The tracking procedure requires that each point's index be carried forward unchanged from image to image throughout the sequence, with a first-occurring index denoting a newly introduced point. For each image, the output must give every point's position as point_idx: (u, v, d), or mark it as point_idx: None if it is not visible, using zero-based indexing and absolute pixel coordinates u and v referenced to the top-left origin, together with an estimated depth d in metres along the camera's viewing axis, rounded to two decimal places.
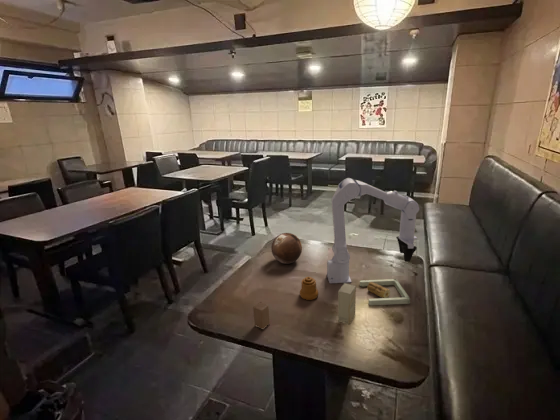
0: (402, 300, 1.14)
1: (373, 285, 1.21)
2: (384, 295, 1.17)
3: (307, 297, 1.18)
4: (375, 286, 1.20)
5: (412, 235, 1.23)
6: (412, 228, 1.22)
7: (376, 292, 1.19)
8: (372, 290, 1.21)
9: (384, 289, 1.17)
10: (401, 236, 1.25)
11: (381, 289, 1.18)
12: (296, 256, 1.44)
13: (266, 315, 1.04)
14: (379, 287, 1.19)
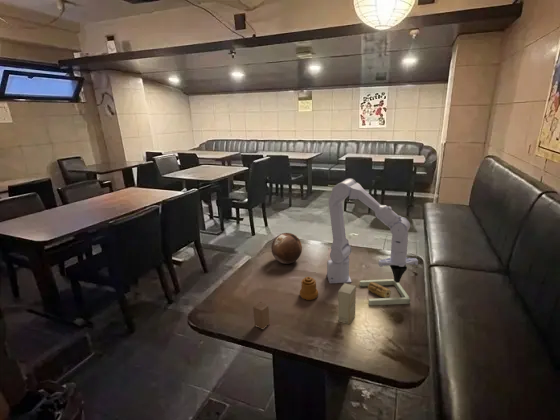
0: (402, 300, 1.14)
1: (374, 285, 1.21)
2: (385, 295, 1.17)
3: (307, 297, 1.18)
4: (376, 286, 1.20)
5: (394, 258, 1.14)
6: (400, 252, 1.12)
7: (377, 292, 1.19)
8: (373, 290, 1.21)
9: (385, 289, 1.17)
10: None
11: (381, 289, 1.18)
12: (296, 256, 1.44)
13: (266, 315, 1.04)
14: (380, 287, 1.19)
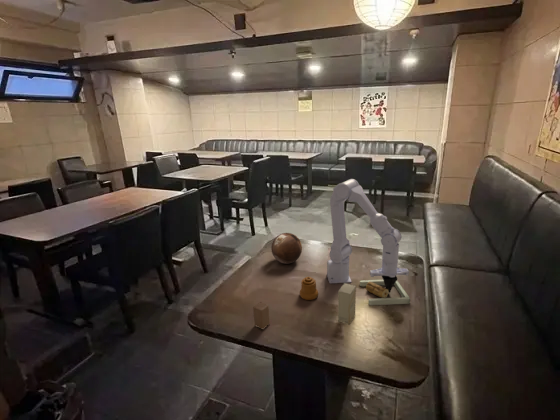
0: (402, 300, 1.14)
1: (372, 285, 1.21)
2: (382, 295, 1.16)
3: (307, 297, 1.18)
4: (374, 286, 1.20)
5: (384, 269, 1.16)
6: (390, 262, 1.14)
7: (375, 292, 1.19)
8: (371, 290, 1.20)
9: (382, 289, 1.17)
10: None
11: (379, 289, 1.18)
12: (296, 256, 1.44)
13: (266, 315, 1.04)
14: (378, 287, 1.19)
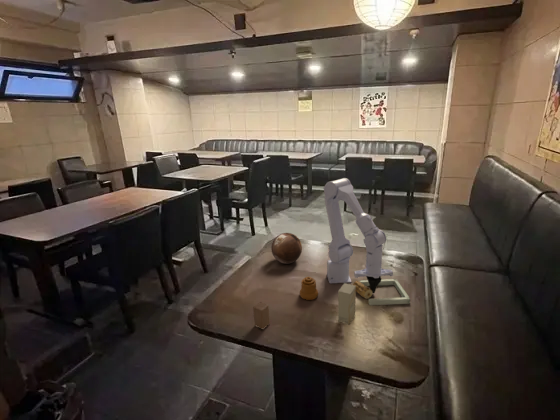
0: (402, 300, 1.14)
1: (357, 284, 1.22)
2: (365, 295, 1.17)
3: (307, 297, 1.18)
4: (359, 285, 1.21)
5: (368, 269, 1.16)
6: (372, 263, 1.14)
7: (358, 291, 1.20)
8: (356, 289, 1.22)
9: (366, 289, 1.18)
10: None
11: (363, 289, 1.19)
12: (296, 256, 1.44)
13: (266, 315, 1.04)
14: (362, 287, 1.20)
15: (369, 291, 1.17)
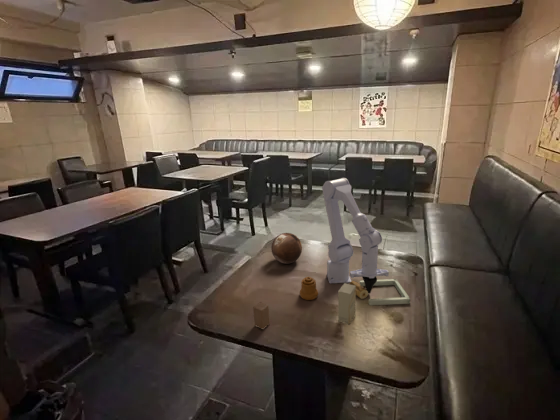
0: (402, 300, 1.14)
1: (353, 284, 1.22)
2: (360, 295, 1.17)
3: (307, 297, 1.18)
4: (355, 285, 1.21)
5: (364, 270, 1.16)
6: (367, 263, 1.14)
7: None
8: None
9: (361, 289, 1.18)
10: None
11: (358, 289, 1.19)
12: (296, 256, 1.44)
13: (266, 315, 1.04)
14: (358, 287, 1.20)
15: (364, 291, 1.17)
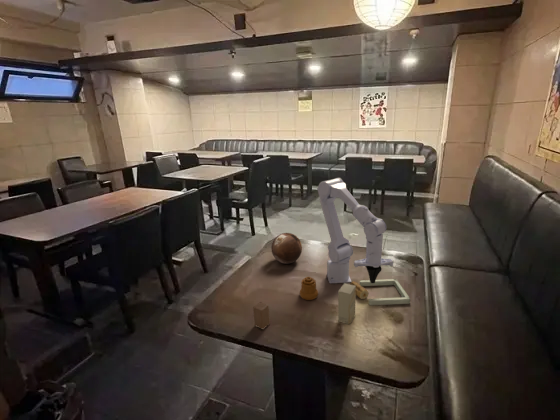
0: (402, 300, 1.14)
1: (354, 284, 1.22)
2: (361, 295, 1.17)
3: (307, 297, 1.18)
4: None
5: (368, 259, 1.15)
6: (372, 252, 1.13)
7: None
8: None
9: (362, 289, 1.18)
10: None
11: (359, 289, 1.19)
12: (296, 256, 1.44)
13: (266, 315, 1.04)
14: (358, 287, 1.20)
15: (365, 292, 1.17)
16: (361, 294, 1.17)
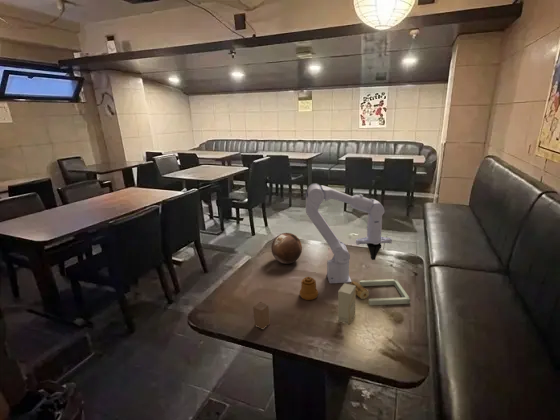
0: (402, 300, 1.14)
1: (354, 284, 1.22)
2: (361, 295, 1.17)
3: (307, 297, 1.18)
4: None
5: (369, 237, 1.25)
6: (378, 230, 1.23)
7: None
8: None
9: (362, 289, 1.18)
10: None
11: (359, 289, 1.19)
12: (296, 256, 1.44)
13: (266, 315, 1.04)
14: (359, 287, 1.20)
15: (365, 292, 1.17)
16: (361, 294, 1.17)
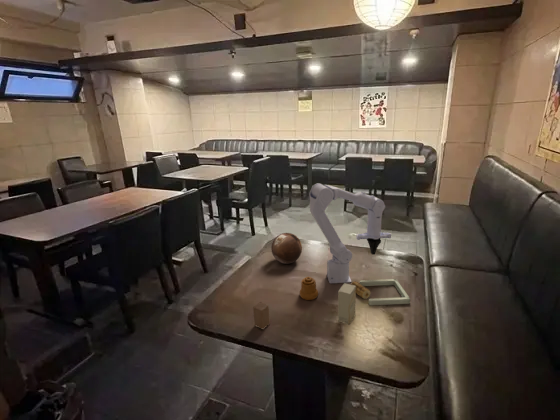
0: (402, 300, 1.14)
1: (355, 284, 1.22)
2: (363, 295, 1.17)
3: (307, 297, 1.18)
4: (357, 285, 1.21)
5: (369, 232, 1.30)
6: (379, 225, 1.28)
7: (357, 291, 1.20)
8: None
9: (364, 289, 1.18)
10: None
11: (361, 289, 1.19)
12: (296, 256, 1.44)
13: (266, 315, 1.04)
14: (360, 287, 1.20)
15: (367, 291, 1.18)
16: (363, 294, 1.17)
